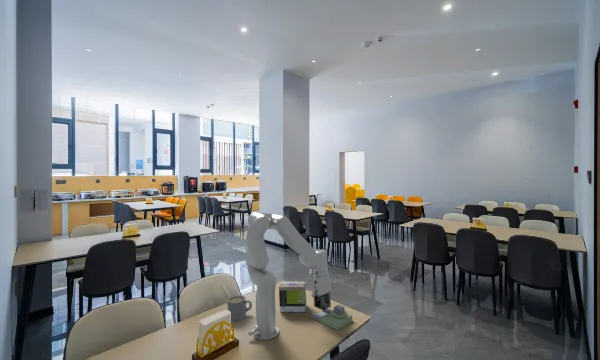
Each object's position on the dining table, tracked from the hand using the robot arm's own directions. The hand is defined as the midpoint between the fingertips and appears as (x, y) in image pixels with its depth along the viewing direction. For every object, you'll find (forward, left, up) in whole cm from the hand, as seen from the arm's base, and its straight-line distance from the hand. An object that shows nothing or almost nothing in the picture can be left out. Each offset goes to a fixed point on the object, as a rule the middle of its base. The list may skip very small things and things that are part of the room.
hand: (322, 304), depth 156 cm
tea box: (-5, +19, -7) cm, 20 cm away
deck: (+1, -6, -6) cm, 9 cm away
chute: (0, 0, -1) cm, 1 cm away
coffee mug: (-32, +34, -7) cm, 47 cm away
